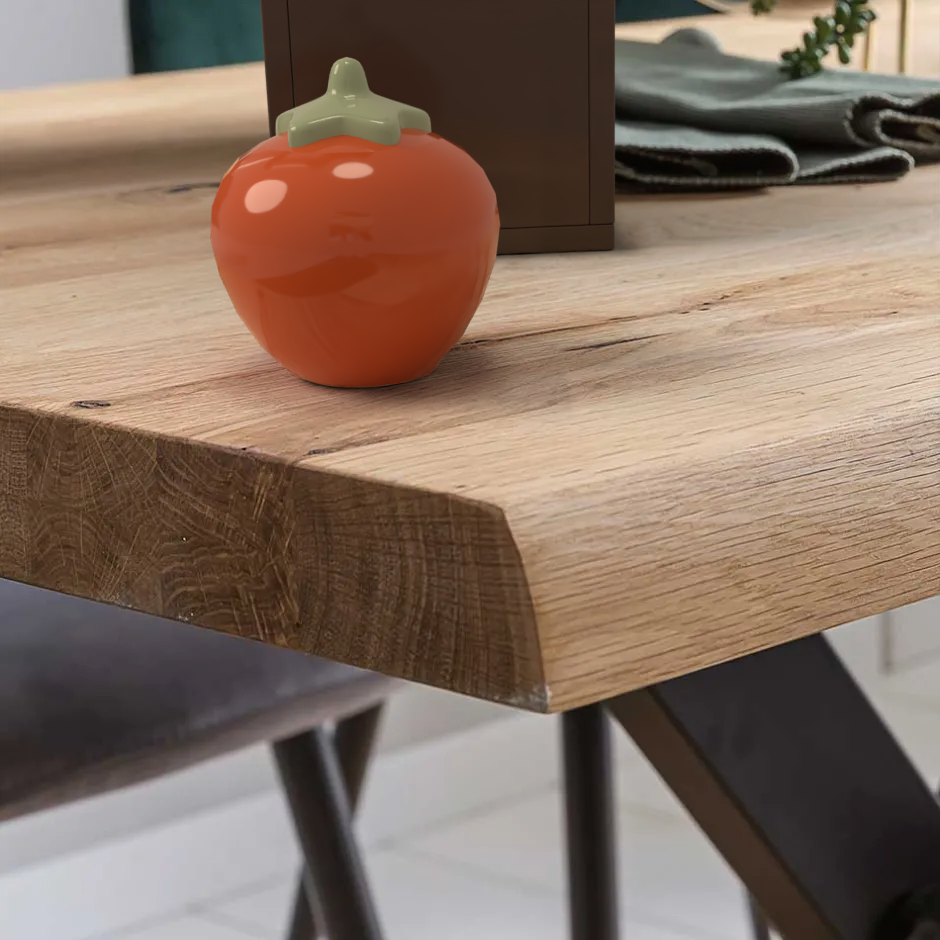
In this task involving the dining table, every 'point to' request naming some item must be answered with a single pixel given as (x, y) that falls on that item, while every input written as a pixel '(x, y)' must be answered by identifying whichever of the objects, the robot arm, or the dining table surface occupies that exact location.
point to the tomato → (355, 238)
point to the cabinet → (479, 95)
